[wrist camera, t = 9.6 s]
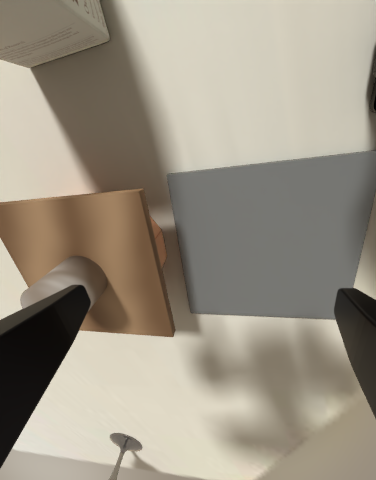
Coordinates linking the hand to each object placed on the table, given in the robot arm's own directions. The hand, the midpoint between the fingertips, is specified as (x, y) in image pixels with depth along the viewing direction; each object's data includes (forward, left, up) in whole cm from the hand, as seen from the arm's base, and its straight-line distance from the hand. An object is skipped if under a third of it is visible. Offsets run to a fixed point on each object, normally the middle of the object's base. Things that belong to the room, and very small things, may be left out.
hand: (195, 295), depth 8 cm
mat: (-4, +5, -12) cm, 13 cm away
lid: (+11, +4, -8) cm, 14 cm away
